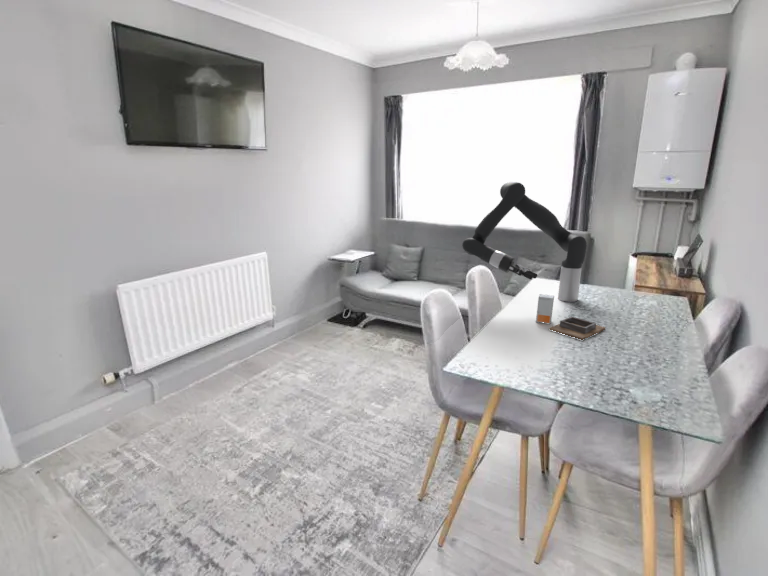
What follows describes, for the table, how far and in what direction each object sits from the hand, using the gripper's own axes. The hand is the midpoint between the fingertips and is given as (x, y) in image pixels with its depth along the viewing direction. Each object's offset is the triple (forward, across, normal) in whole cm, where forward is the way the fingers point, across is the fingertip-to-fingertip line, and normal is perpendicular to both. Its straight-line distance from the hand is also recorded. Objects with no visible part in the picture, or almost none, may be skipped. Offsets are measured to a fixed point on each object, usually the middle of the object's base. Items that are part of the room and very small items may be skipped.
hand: (534, 277), depth 175 cm
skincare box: (+13, -1, +16) cm, 20 cm away
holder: (+26, -4, +12) cm, 28 cm away
